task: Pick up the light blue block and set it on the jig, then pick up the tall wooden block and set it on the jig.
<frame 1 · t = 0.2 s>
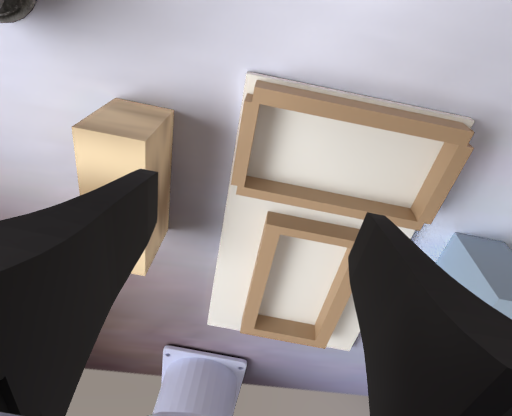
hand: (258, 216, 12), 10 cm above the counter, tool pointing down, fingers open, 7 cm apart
light blue block: (450, 278, 26), on the counter
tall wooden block: (145, 169, 23), on the counter
jig: (309, 240, 25), on the counter
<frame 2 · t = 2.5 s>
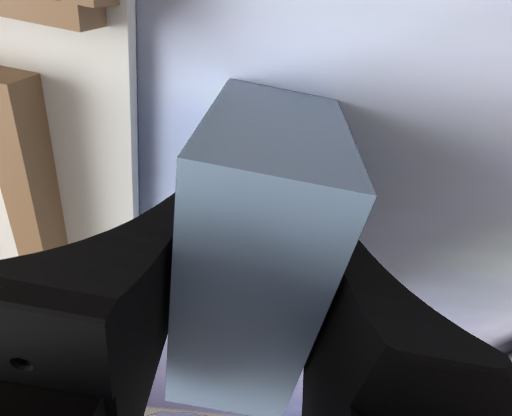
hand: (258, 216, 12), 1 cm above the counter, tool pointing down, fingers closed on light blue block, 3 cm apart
light blue block: (261, 195, 13), on the counter, touching gripper
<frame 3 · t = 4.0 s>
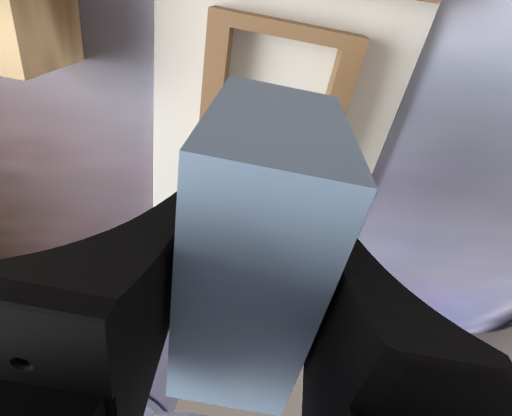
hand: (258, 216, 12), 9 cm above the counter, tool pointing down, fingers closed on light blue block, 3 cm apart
light blue block: (261, 192, 13), point 7 cm above the counter, touching gripper
jig: (280, 67, 18), on the counter
when the fingers open (3 cm above the counter, at t = 5.5 s): light blue block drops 1 cm, resting on jig.
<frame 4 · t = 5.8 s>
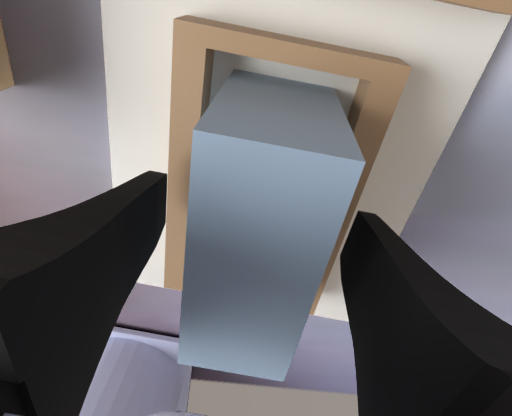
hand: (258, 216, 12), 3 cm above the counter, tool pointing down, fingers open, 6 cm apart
light blue block: (263, 179, 14), point 1 cm above the counter, touching jig
jig: (279, 98, 13), on the counter
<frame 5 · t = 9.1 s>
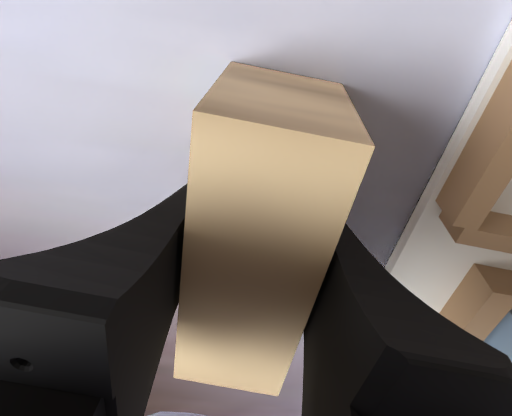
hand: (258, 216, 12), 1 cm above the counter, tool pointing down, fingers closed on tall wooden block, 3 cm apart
light blue block: (488, 360, 16), point 1 cm above the counter, touching jig
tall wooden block: (260, 195, 13), on the counter, touching gripper
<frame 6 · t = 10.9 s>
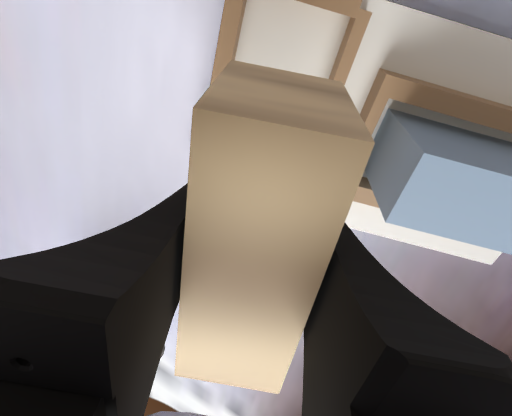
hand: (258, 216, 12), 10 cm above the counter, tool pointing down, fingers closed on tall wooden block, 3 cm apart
light blue block: (440, 155, 20), point 1 cm above the counter, touching jig
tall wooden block: (261, 193, 13), point 8 cm above the counter, touching gripper
jig: (386, 137, 20), on the counter
when the fingers open (3 cm above the counter, at t = 13.0 s): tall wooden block drops 1 cm, resting on jig.
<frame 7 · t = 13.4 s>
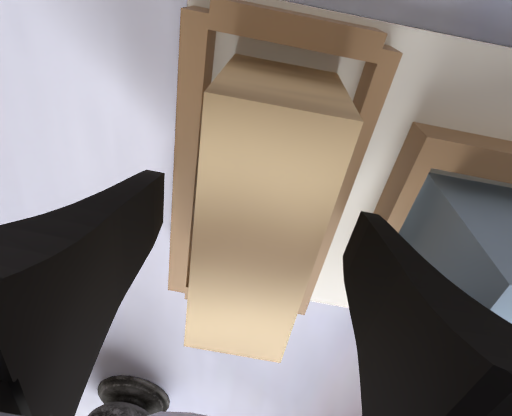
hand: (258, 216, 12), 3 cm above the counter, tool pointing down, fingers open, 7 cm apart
light blue block: (502, 226, 14), point 1 cm above the counter, touching jig
salt shaker: (135, 394, 26), on the counter
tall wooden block: (263, 179, 14), point 1 cm above the counter, touching jig
jig: (424, 205, 15), on the counter
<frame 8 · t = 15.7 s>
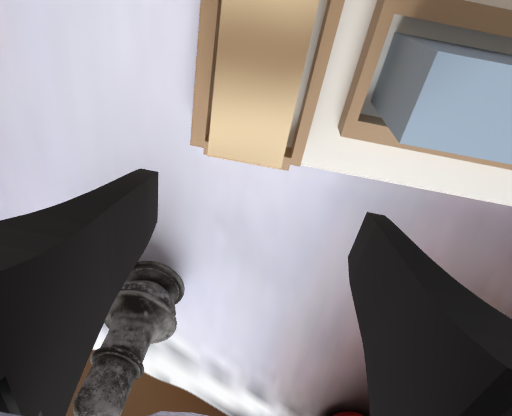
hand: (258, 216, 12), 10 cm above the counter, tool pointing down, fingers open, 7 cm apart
light blue block: (456, 83, 18), point 1 cm above the counter, touching jig
salt shaker: (154, 283, 29), on the counter
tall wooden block: (267, 43, 18), point 1 cm above the counter, touching jig
jig: (395, 69, 19), on the counter
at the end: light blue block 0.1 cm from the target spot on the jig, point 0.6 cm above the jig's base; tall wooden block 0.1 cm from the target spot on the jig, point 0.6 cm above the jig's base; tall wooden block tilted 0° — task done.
